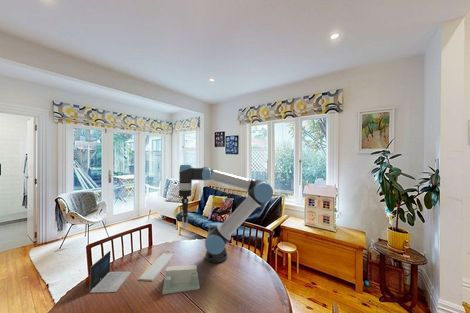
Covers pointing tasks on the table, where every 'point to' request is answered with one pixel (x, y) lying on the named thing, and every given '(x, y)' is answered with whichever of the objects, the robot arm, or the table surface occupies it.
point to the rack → (181, 285)
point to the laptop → (105, 276)
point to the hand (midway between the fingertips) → (184, 224)
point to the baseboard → (156, 267)
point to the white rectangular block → (180, 273)
